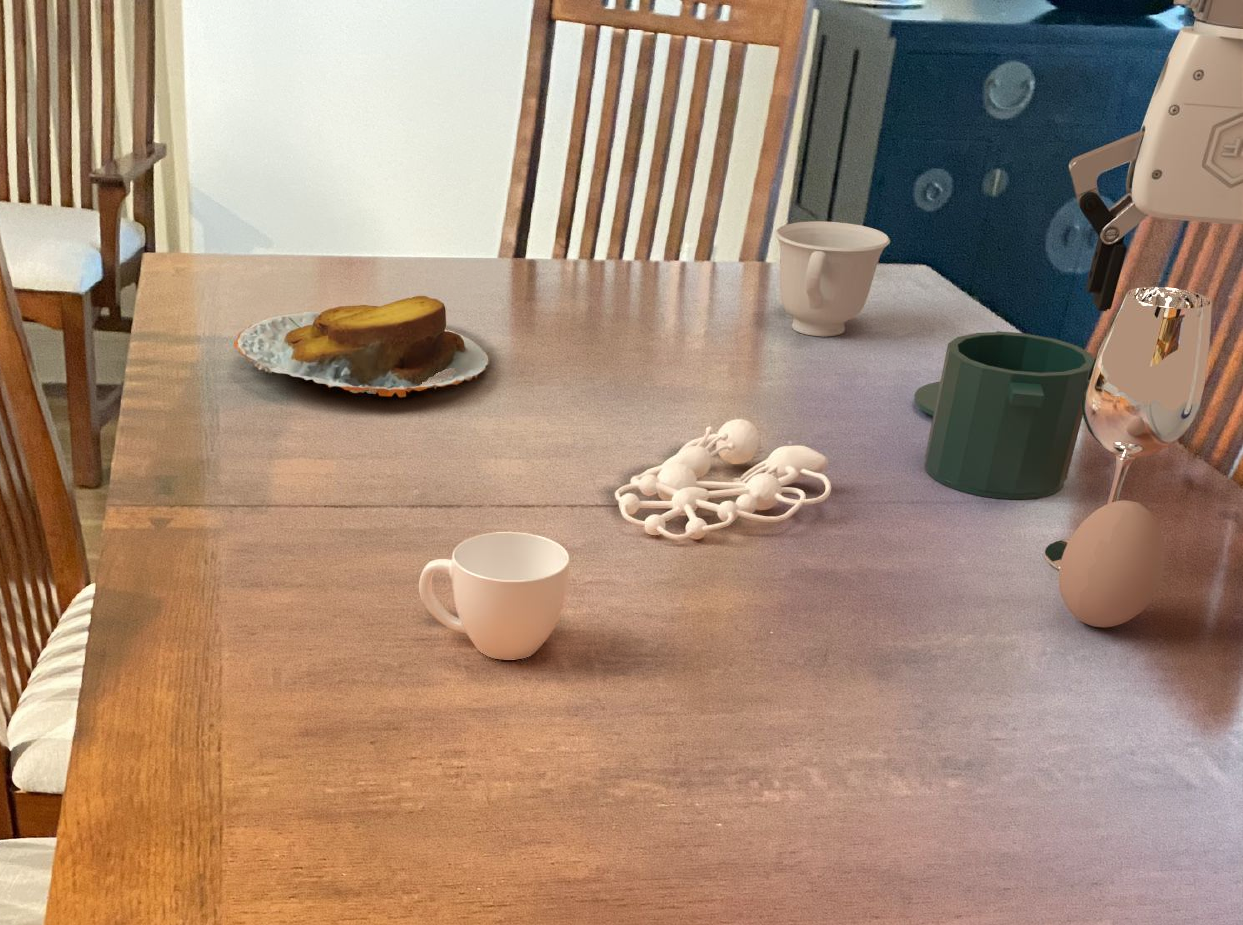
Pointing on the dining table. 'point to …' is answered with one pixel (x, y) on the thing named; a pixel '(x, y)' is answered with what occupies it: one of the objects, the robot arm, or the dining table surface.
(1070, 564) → the egg
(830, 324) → the teacup
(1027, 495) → the pot
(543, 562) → the cup
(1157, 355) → the wineglass
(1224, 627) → the dining table surface
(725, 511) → the tangled rod sculpture
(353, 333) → the food on plate
